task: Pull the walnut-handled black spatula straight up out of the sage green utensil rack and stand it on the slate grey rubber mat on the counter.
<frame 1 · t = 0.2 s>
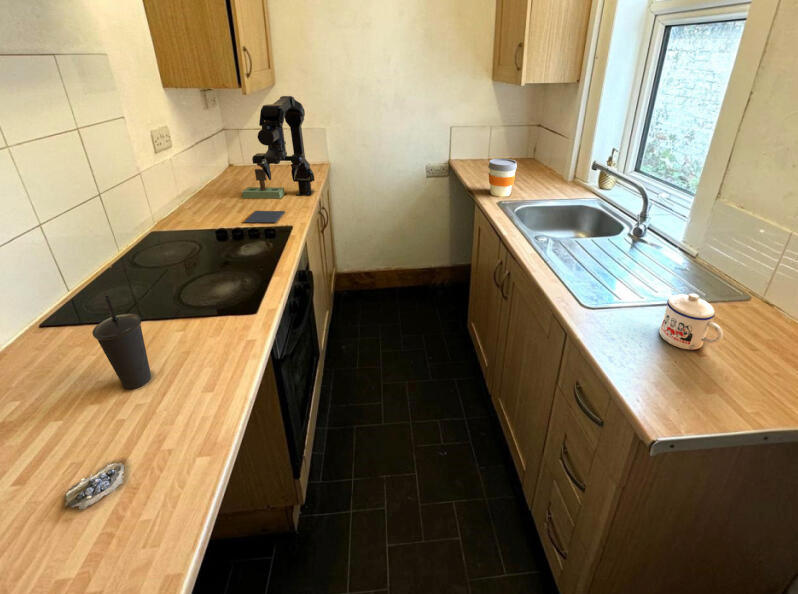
hand: (282, 180, 162), 15 cm above the table, tool pointing down, fingers open, 9 cm apart
blueberries: (98, 486, 64), on the table
mat: (265, 217, 166), on the table
teacup with lid: (686, 342, 95), on the table
rack: (264, 195, 190), on the table
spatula: (262, 182, 188), in the rack
drinking cup: (137, 381, 84), on the table
reusable coffee cup: (500, 193, 194), on the table
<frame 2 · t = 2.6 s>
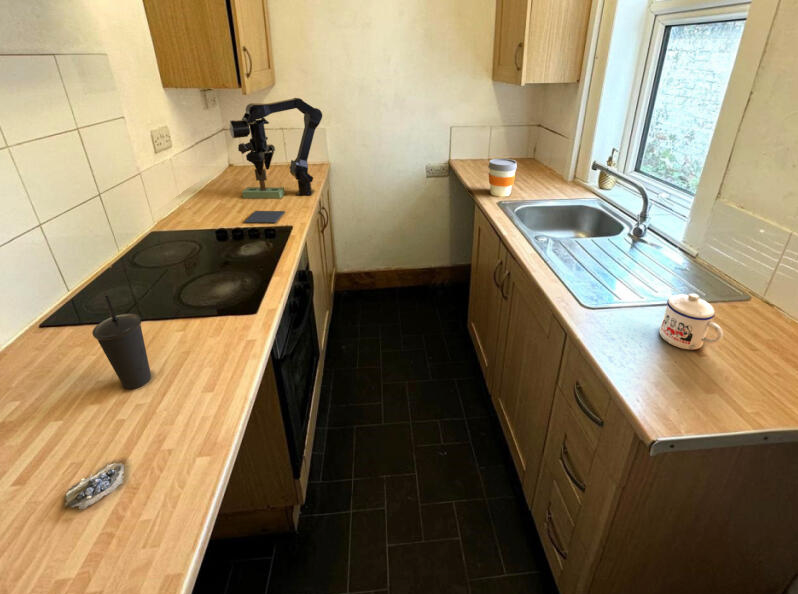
hand: (264, 172, 179), 13 cm above the table, tool pointing down, fingers open, 9 cm apart
nothing on the table moved.
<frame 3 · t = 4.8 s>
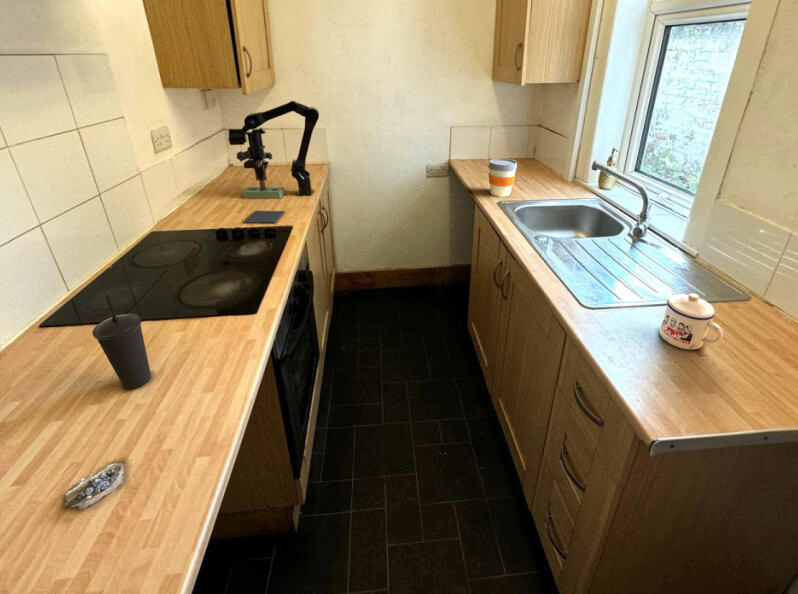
hand: (261, 178, 187), 8 cm above the table, tool pointing down, fingers closed on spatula, 1 cm apart
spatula: (262, 182, 188), in the rack, touching gripper
everything else where it was.
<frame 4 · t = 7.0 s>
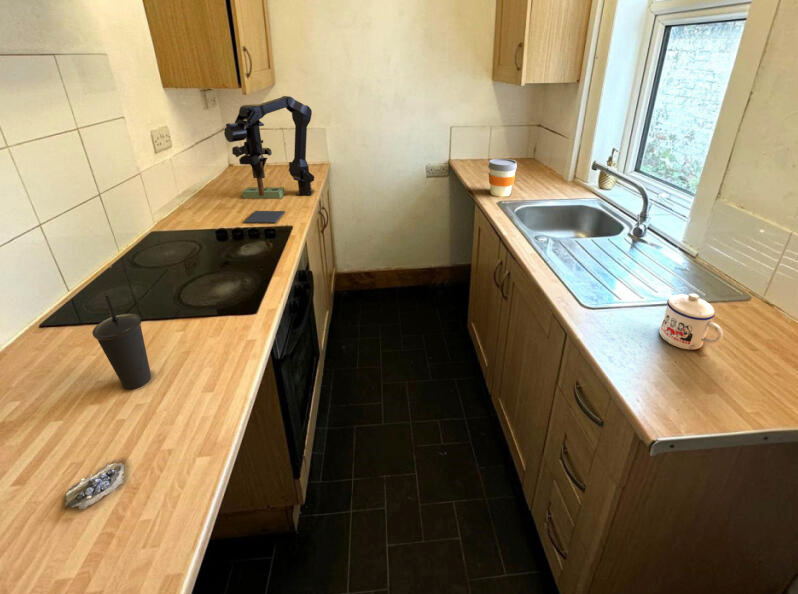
hand: (259, 176, 172), 13 cm above the table, tool pointing down, fingers closed on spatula, 1 cm apart
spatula: (259, 180, 173), point 11 cm above the table, touching gripper
everything else where it was.
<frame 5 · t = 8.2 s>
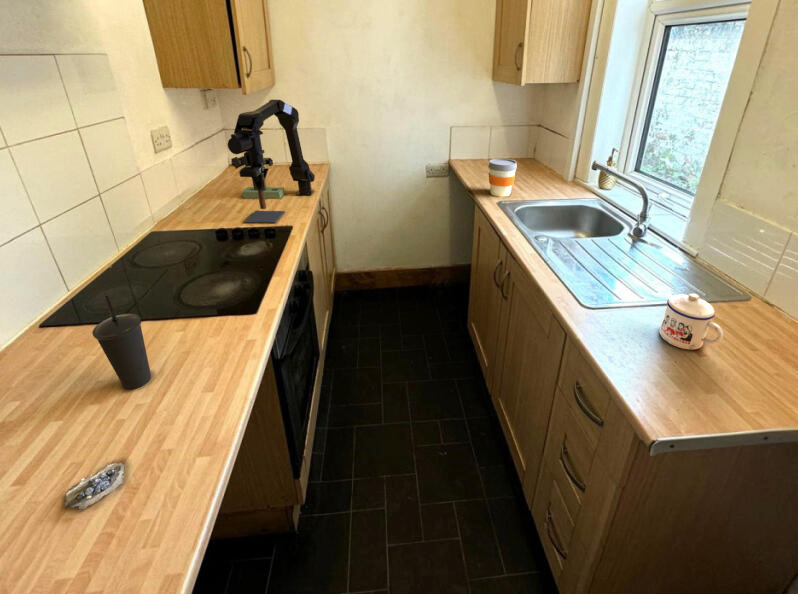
hand: (260, 188, 161), 12 cm above the table, tool pointing down, fingers closed on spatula, 1 cm apart
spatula: (260, 193, 161), point 10 cm above the table, touching gripper
everything else where it was.
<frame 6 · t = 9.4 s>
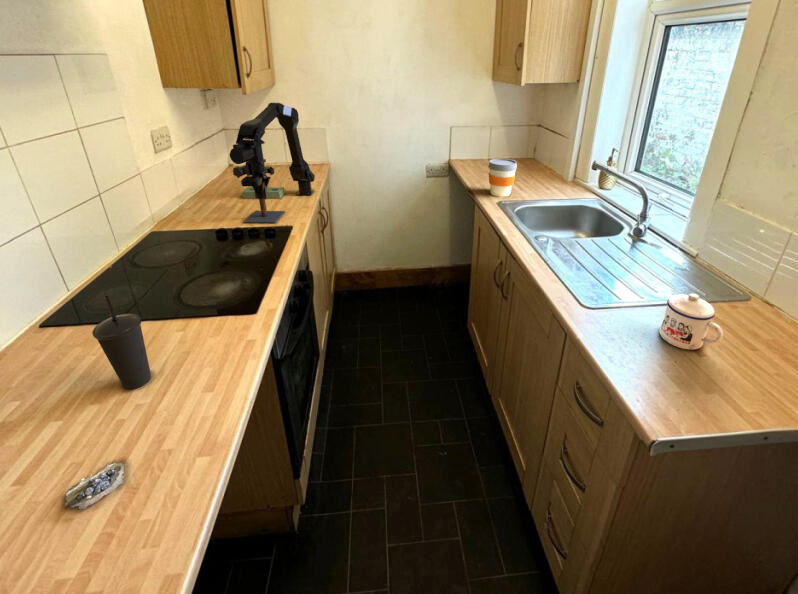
hand: (261, 197, 162), 8 cm above the table, tool pointing down, fingers open, 3 cm apart
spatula: (262, 201, 163), on the mat, point 7 cm above the table
everything else where it was.
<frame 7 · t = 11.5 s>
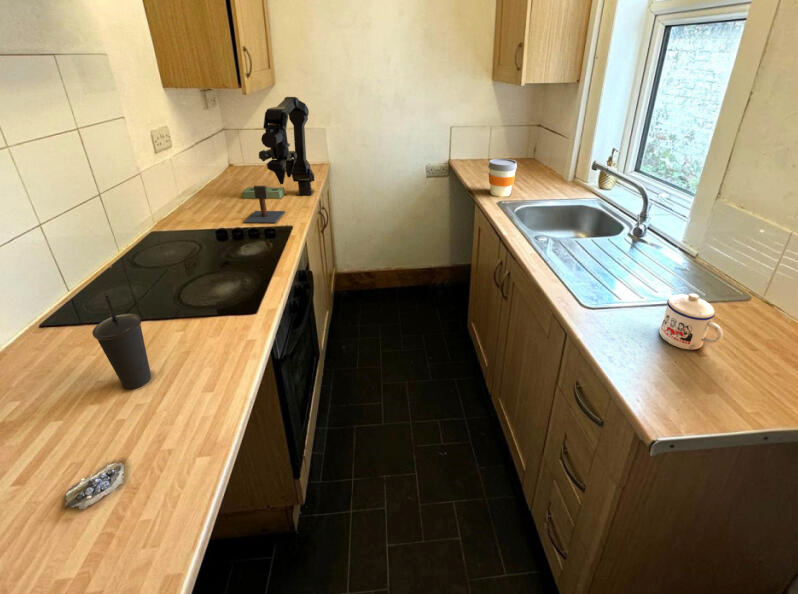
hand: (285, 180, 168), 13 cm above the table, tool pointing down, fingers open, 9 cm apart
nothing on the table moved.
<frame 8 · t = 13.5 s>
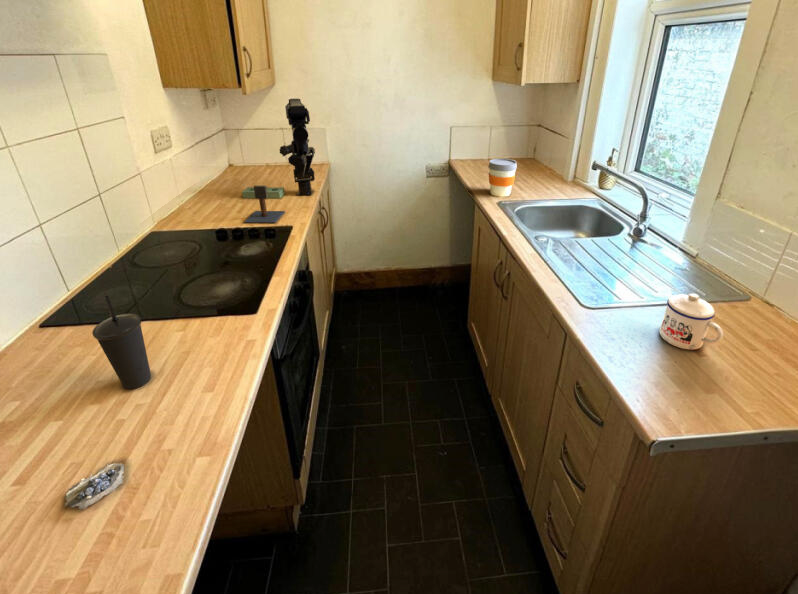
hand: (304, 175, 174), 13 cm above the table, tool pointing down, fingers open, 9 cm apart
nothing on the table moved.
at the end: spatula inside the target area on the mat (0.1 cm from its centre), point 6.8 cm above the mat's base; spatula tilted 0°; the gripper is holding nothing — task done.
